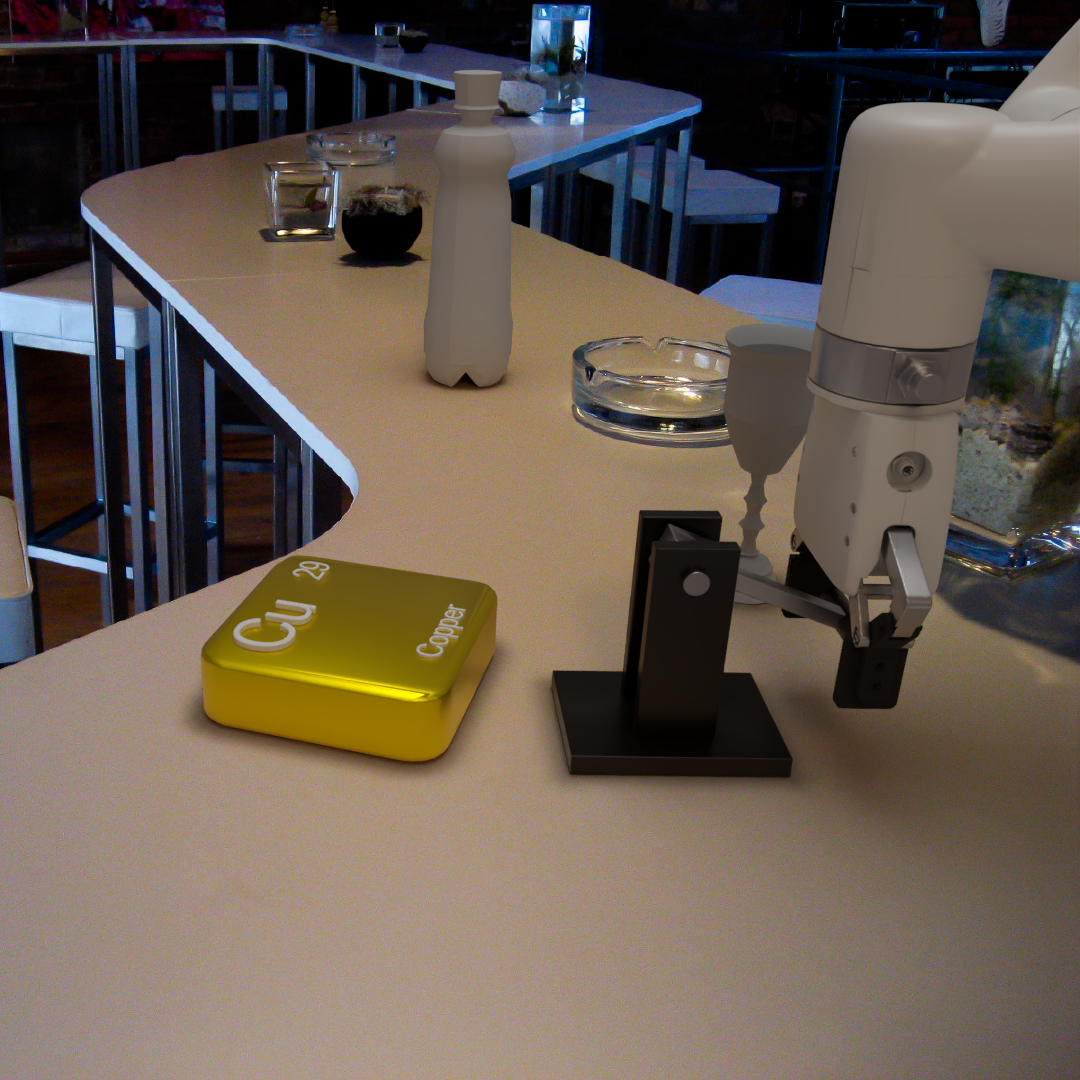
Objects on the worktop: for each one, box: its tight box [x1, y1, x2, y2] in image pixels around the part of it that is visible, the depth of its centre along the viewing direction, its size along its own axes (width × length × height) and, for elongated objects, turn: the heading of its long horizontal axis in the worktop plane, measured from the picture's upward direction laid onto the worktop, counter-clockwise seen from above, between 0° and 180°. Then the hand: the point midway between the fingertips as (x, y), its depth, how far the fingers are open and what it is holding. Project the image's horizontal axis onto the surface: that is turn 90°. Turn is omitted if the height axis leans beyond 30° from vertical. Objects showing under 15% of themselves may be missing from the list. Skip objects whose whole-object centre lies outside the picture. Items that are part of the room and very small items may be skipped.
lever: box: [649, 524, 852, 641], centre depth 69 cm, size 12×5×2 cm, turn 90°
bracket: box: [551, 509, 794, 778], centre depth 70 cm, size 12×9×13 cm
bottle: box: [423, 69, 517, 388], centre depth 125 cm, size 9×9×30 cm
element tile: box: [200, 554, 498, 762], centre depth 77 cm, size 15×15×5 cm
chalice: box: [723, 323, 815, 605], centre depth 85 cm, size 7×7×18 cm
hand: (834, 658), depth 71 cm, fingers open, 9 cm apart
